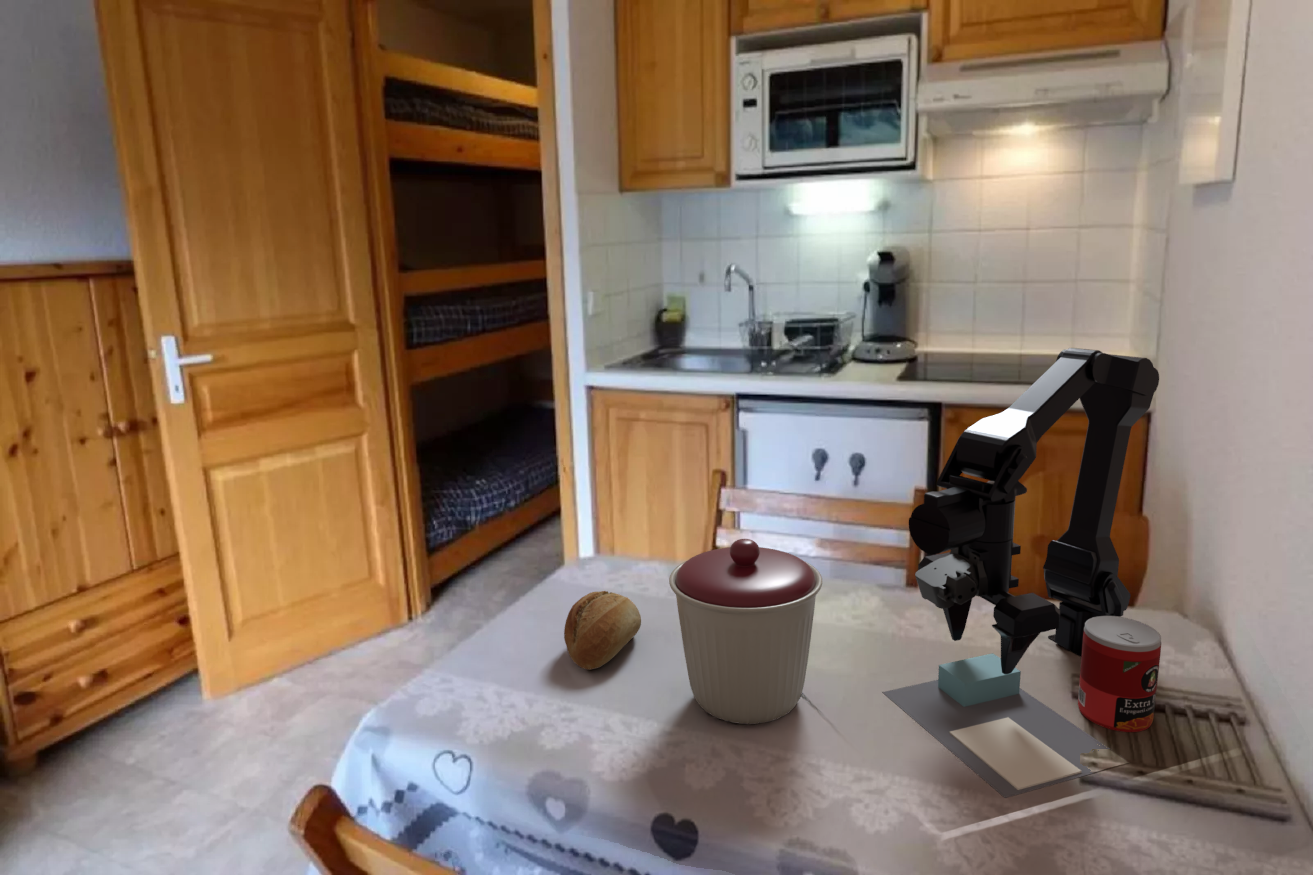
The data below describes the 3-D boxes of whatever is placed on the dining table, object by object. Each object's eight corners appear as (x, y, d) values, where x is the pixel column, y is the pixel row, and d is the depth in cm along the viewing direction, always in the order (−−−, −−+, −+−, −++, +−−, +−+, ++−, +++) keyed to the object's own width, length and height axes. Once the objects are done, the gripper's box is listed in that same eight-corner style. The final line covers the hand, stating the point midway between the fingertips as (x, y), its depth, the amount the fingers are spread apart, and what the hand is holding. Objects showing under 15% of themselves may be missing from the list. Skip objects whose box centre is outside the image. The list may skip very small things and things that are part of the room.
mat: (989, 671, 112) (990, 666, 112) (1130, 766, 91) (1130, 760, 91) (882, 695, 107) (882, 690, 107) (1004, 802, 87) (1005, 795, 86)
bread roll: (549, 672, 116) (545, 617, 114) (591, 624, 130) (588, 574, 128) (616, 681, 113) (613, 624, 111) (652, 631, 127) (650, 580, 125)
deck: (991, 674, 110) (992, 653, 109) (1019, 693, 105) (1020, 671, 105) (937, 686, 108) (938, 664, 107) (963, 706, 103) (965, 684, 102)
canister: (651, 727, 102) (644, 559, 97) (700, 657, 118) (696, 510, 113) (803, 756, 95) (804, 577, 90) (833, 678, 112) (835, 522, 107)
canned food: (1124, 744, 95) (1133, 652, 93) (1061, 710, 102) (1068, 624, 100) (1168, 724, 99) (1178, 635, 96) (1104, 693, 106) (1112, 609, 103)
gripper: (883, 520, 108) (880, 635, 112) (982, 573, 91) (975, 707, 94) (958, 508, 111) (953, 620, 115) (1068, 557, 94) (1058, 687, 98)
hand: (980, 656), depth 105 cm, fingers open, 9 cm apart
